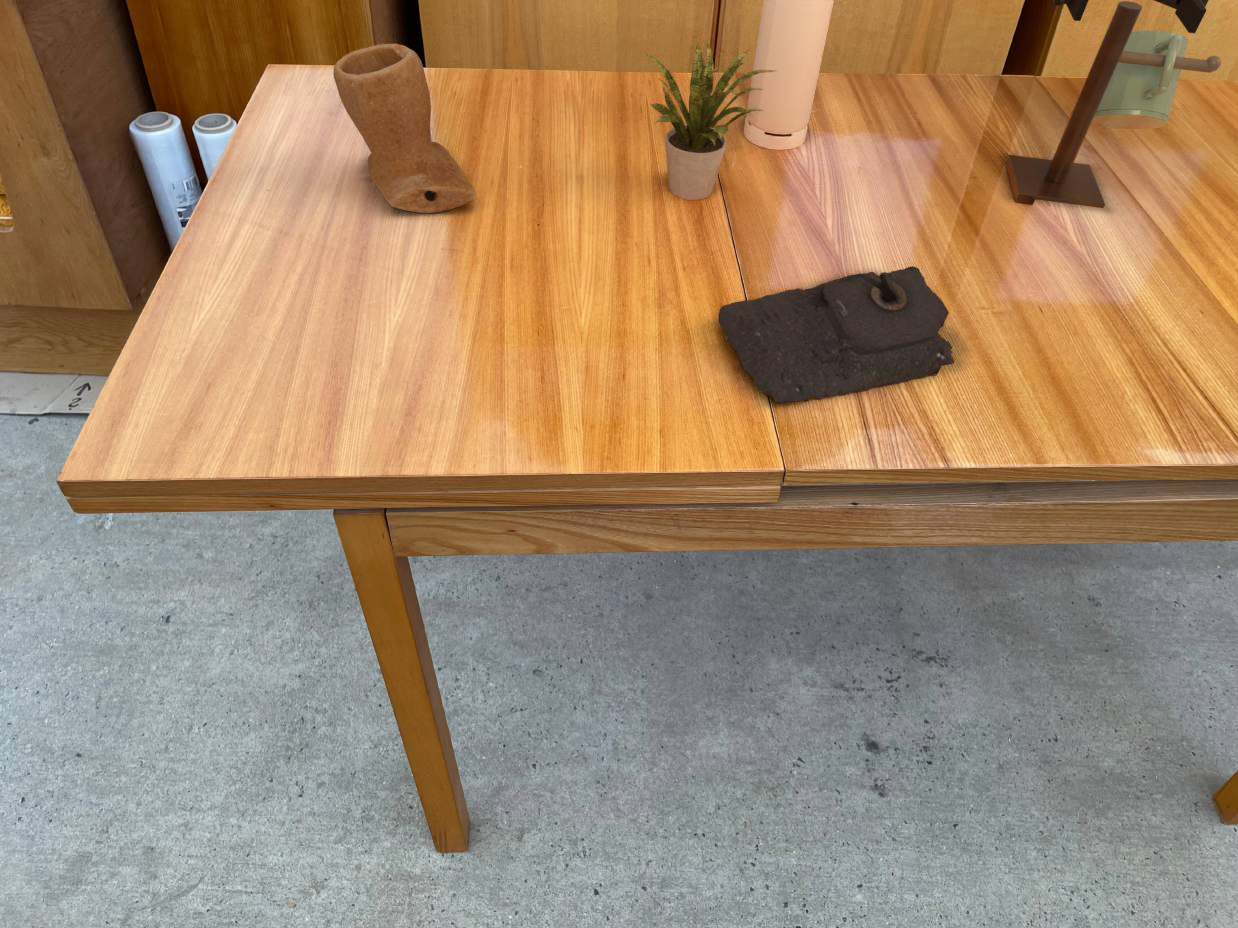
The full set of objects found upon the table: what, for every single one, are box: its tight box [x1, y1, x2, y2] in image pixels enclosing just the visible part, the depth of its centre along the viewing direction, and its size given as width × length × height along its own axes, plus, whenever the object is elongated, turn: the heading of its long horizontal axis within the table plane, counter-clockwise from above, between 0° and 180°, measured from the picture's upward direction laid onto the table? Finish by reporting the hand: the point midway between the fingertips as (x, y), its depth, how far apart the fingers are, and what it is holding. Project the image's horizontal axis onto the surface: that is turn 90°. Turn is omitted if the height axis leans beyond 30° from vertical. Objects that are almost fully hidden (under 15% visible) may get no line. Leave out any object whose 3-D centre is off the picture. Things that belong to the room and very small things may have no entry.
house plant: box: [646, 39, 774, 201], centre depth 99 cm, size 14×14×16 cm
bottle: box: [743, 0, 835, 151], centre depth 106 cm, size 8×8×28 cm
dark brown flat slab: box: [717, 266, 956, 403], centre depth 85 cm, size 15×22×5 cm
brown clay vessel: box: [332, 43, 477, 214], centre depth 97 cm, size 15×12×15 cm
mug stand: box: [1005, 0, 1222, 209], centre depth 102 cm, size 17×10×21 cm, turn 80°
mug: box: [1091, 30, 1189, 131], centre depth 102 cm, size 12×8×9 cm
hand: (1139, 15), depth 107 cm, fingers open, 13 cm apart
